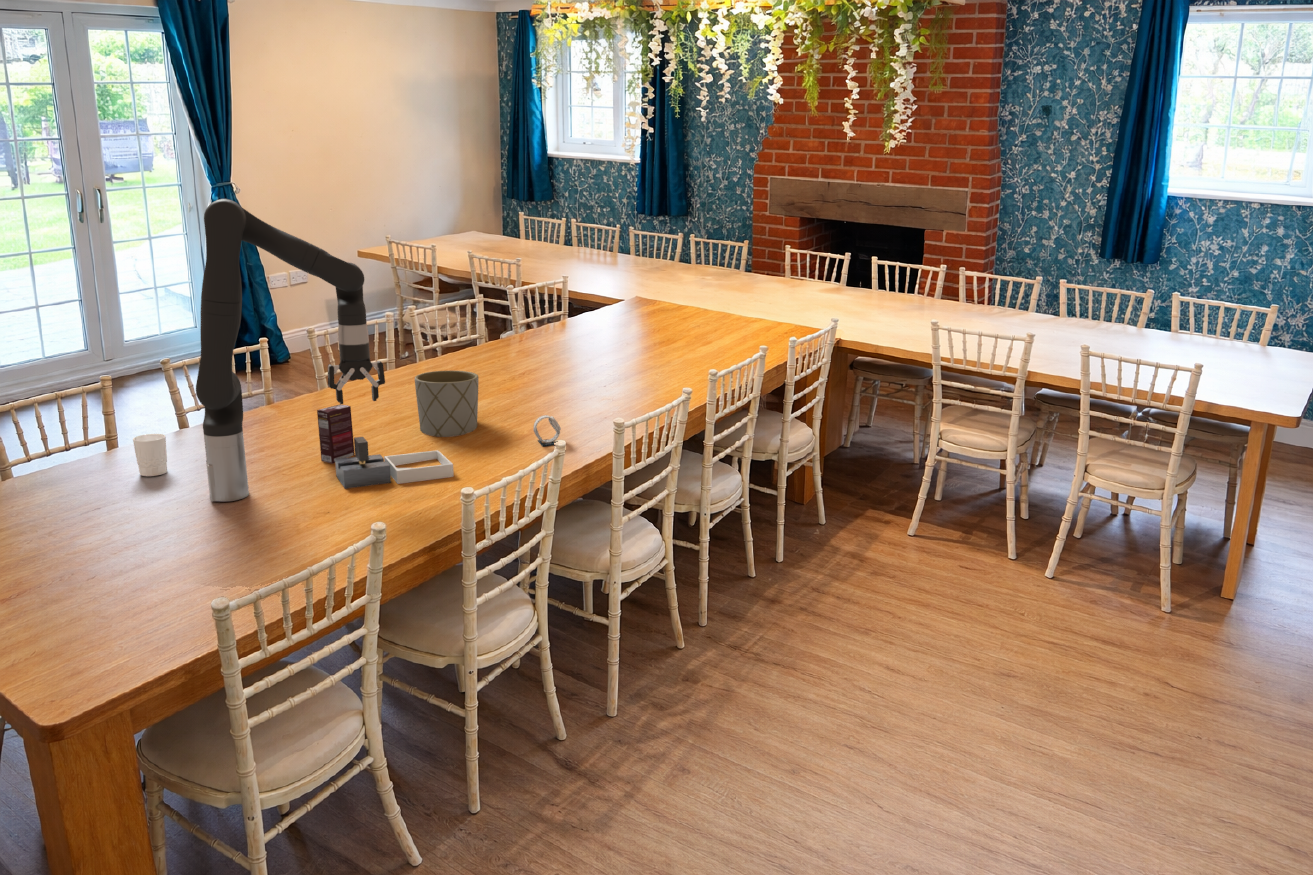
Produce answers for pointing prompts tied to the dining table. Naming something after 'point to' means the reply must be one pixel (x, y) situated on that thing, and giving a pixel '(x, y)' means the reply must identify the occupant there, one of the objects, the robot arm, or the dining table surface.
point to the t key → (361, 449)
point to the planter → (447, 402)
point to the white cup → (151, 454)
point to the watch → (554, 424)
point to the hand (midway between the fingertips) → (358, 402)
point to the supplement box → (335, 433)
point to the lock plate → (362, 471)
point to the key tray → (422, 472)
